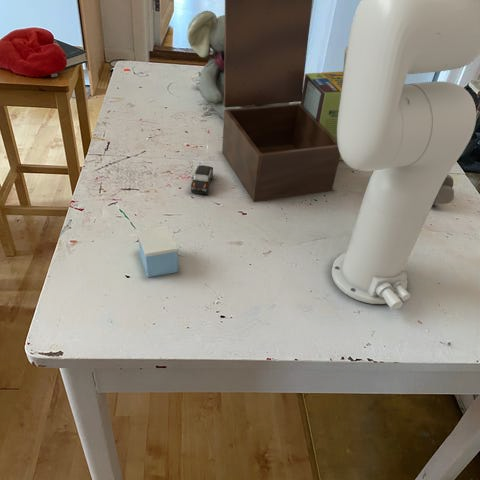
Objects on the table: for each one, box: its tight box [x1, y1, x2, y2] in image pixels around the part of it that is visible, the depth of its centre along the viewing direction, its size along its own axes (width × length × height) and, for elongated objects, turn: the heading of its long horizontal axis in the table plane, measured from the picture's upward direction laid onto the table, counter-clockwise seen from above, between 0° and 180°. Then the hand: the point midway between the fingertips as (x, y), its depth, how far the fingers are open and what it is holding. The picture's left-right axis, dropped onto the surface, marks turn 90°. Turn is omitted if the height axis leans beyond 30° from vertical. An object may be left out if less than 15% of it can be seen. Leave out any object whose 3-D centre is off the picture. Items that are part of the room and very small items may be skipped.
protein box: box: [300, 71, 344, 162], centre depth 105 cm, size 10×15×16 cm
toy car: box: [190, 129, 214, 195], centre depth 94 cm, size 4×12×8 cm, turn 172°
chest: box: [221, 102, 341, 203], centre depth 98 cm, size 20×18×10 cm
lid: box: [224, 0, 313, 107], centre depth 95 cm, size 20×18×5 cm
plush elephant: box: [186, 10, 290, 120], centre depth 116 cm, size 27×22×21 cm
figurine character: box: [431, 174, 455, 208], centre depth 96 cm, size 7×8×15 cm
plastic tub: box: [136, 225, 179, 278], centre depth 77 cm, size 6×5×5 cm
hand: (261, 9), depth 92 cm, fingers open, 9 cm apart
